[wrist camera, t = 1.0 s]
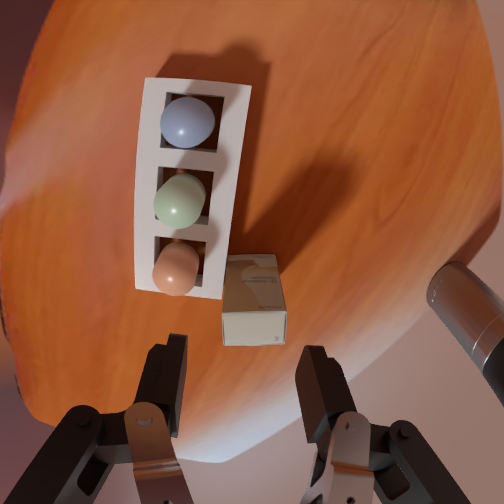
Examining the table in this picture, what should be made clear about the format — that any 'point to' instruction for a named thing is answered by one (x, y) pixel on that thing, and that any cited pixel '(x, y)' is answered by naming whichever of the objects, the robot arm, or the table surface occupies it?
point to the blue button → (187, 122)
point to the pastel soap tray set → (161, 155)
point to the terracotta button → (176, 269)
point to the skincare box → (253, 301)
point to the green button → (180, 201)
